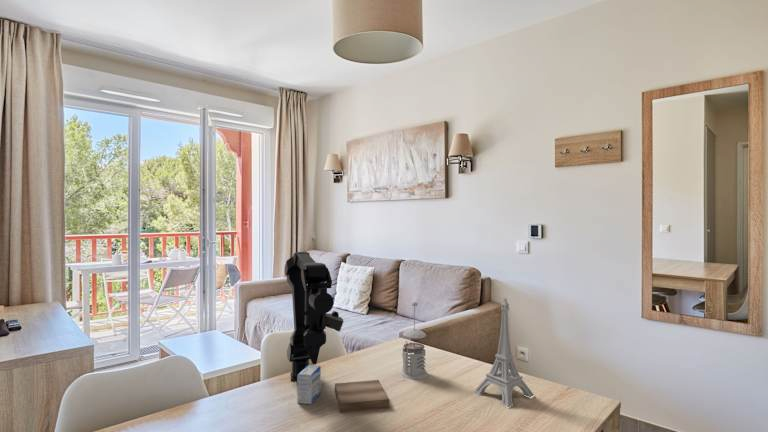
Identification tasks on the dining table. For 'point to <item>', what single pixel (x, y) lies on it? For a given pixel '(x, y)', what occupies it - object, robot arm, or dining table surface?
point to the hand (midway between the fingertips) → (314, 358)
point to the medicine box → (309, 384)
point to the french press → (417, 358)
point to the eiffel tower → (504, 366)
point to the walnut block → (361, 396)
